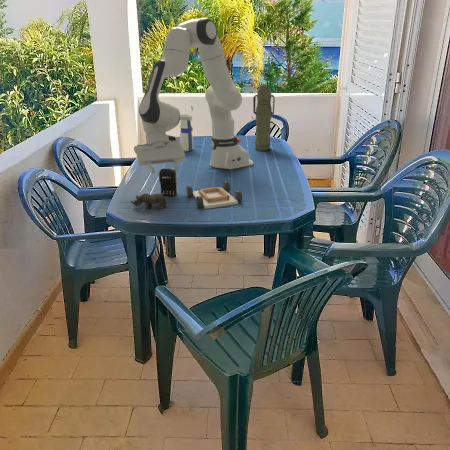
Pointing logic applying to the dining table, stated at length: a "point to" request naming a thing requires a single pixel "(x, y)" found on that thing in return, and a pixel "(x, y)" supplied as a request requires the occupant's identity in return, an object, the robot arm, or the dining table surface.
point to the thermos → (263, 117)
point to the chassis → (214, 196)
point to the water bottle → (186, 132)
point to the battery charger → (168, 181)
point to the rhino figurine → (150, 200)
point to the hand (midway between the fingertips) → (164, 171)
